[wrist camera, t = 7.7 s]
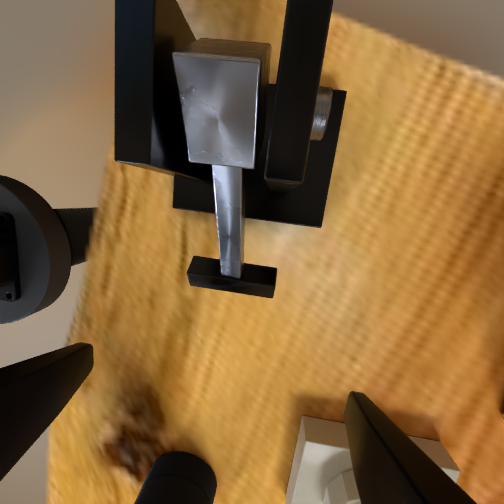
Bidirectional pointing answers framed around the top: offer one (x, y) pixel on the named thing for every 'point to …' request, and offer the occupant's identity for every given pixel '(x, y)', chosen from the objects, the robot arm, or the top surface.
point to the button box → (338, 464)
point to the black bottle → (178, 481)
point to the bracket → (277, 114)
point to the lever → (226, 148)
